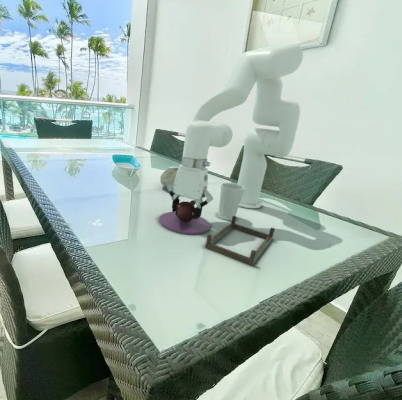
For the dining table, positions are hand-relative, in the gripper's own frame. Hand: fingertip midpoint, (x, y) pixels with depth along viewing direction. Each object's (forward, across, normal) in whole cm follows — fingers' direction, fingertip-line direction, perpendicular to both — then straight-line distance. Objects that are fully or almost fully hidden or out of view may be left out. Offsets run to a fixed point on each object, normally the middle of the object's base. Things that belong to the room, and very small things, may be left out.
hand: (185, 214), depth 92 cm
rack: (+3, -19, 0) cm, 19 cm away
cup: (+4, -8, -18) cm, 20 cm away
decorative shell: (+4, +22, -34) cm, 41 cm away
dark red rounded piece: (+3, 0, 0) cm, 3 cm away
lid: (+3, 0, 0) cm, 3 cm away
